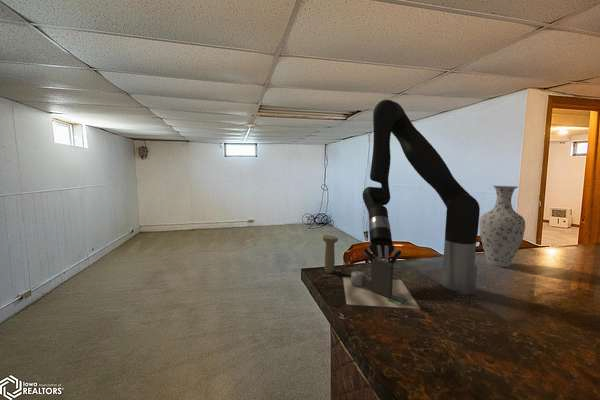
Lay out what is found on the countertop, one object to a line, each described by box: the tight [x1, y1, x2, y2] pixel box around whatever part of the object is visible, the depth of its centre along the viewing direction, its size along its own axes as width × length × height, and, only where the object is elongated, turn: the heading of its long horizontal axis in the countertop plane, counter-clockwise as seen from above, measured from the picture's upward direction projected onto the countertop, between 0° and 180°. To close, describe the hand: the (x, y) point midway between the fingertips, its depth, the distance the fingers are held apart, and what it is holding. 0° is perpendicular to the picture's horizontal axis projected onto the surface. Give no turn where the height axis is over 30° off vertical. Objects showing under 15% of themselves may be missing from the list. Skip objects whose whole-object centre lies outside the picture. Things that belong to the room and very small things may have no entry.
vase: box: [479, 185, 526, 268], centre depth 118 cm, size 16×16×35 cm
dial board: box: [342, 276, 421, 310], centre depth 89 cm, size 21×21×1 cm
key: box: [350, 257, 403, 302], centre depth 87 cm, size 20×5×10 cm, turn 37°
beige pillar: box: [322, 234, 339, 274], centre depth 105 cm, size 5×6×15 cm
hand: (384, 277), depth 87 cm, fingers closed
